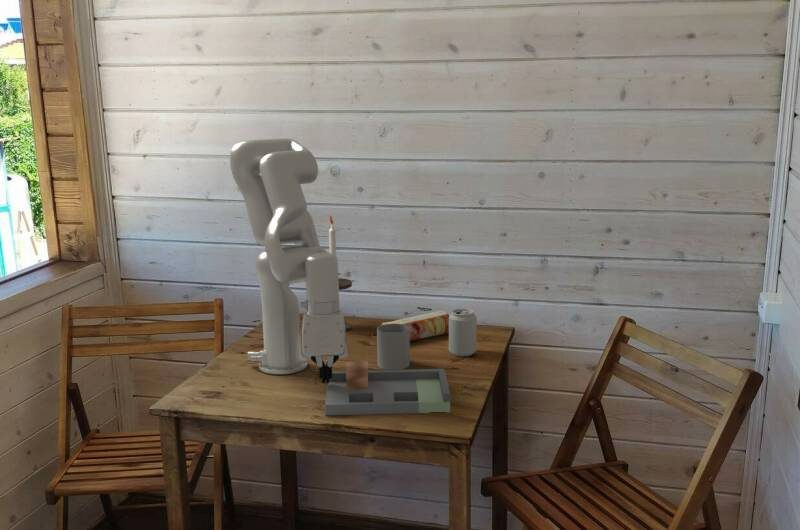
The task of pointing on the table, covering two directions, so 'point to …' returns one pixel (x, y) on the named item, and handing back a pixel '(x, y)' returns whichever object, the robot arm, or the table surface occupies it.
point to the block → (357, 375)
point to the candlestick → (332, 242)
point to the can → (462, 332)
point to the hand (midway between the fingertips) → (325, 381)
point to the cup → (393, 346)
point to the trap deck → (390, 393)
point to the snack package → (425, 325)
